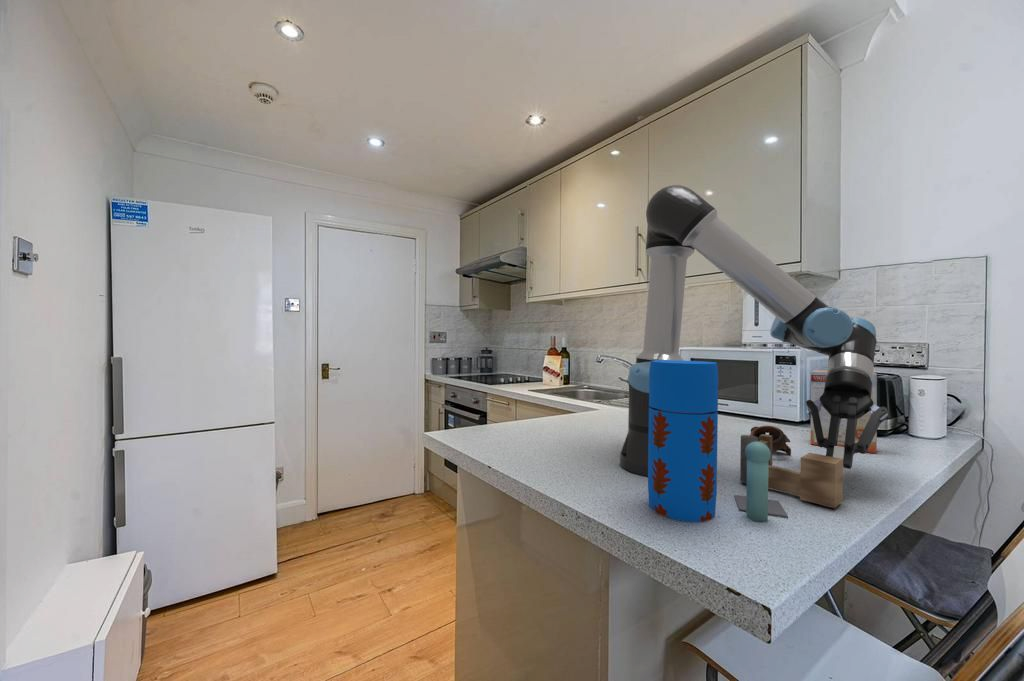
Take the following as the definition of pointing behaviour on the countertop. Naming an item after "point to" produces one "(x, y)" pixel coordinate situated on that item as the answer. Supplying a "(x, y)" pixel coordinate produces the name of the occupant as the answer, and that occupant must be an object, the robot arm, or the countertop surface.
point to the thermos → (683, 439)
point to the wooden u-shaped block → (804, 477)
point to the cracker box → (816, 391)
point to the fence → (767, 444)
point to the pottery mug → (777, 434)
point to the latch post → (757, 481)
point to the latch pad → (773, 506)
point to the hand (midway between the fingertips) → (836, 481)
